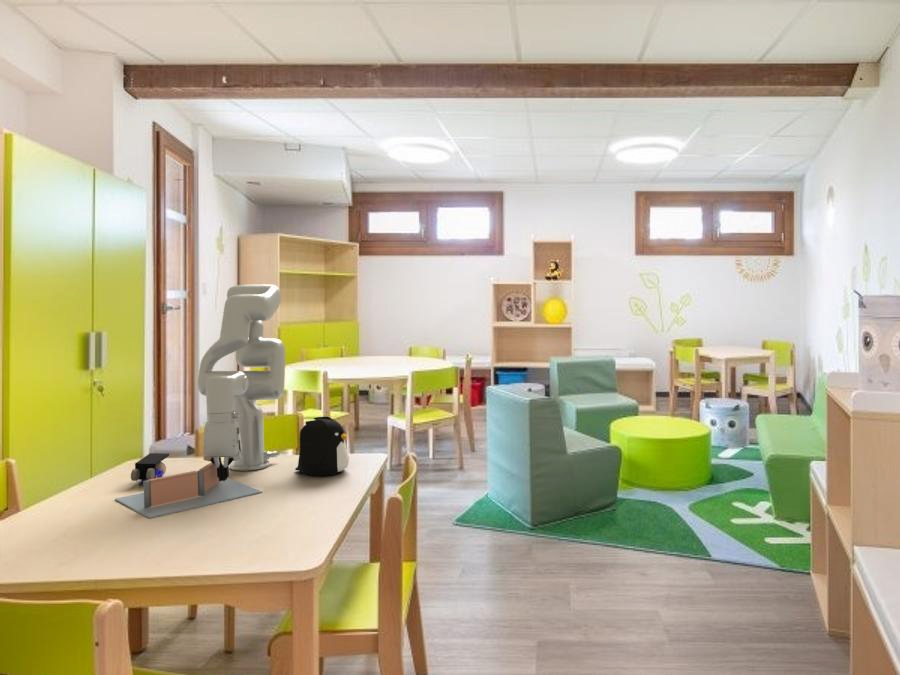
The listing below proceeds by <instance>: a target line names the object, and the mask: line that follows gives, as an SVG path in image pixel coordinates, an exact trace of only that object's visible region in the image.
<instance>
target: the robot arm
mask: <svg viewBox="0 0 900 675" xmlns="http://www.w3.org/2000/svg"><path fill="white" fill-rule="evenodd" d="M281 302H282V295H281V290H280V289H279V287H278V286H277V285H275V284H239V285H238V284H237V285H233V286H230V287H229V288H228V289H227V292H226V299H225V302H224V306H223V312H222V313H223V315H222V320H221V329H220V333H219V334H220V335H219V336H220V337H219V338H218V339H217V341H215V342H214V343H213V344H212V345H211V346H210V347H209V348H208V350H207V351H206V352H205V354H204V355H203V356H202V359H201V360H200V363H199V370H198V378H197V389H198V391H199V393H200V394H201V395H202V396H204V397H206V422H205V423H204V428H203V439H202V453H203V457H202V458H203V460H204V461H205V462H210V463H211V462H212V463H213V464H214V465H215V467H216V468H217V477H218V478H219V481H225V480H226V479H227V478H228V479H229V477H230V470H232V471H240V472H241V471H242V472H245V471H257V470H258V471H259V470H262V469H265V468H267V467H269V465H270V461H269V459H271V458H277V457H278V454H279V453H278V451H277V450H274V451H269V450H265V442H264V441H265V440H264V439H265V437H264V435H265V434H264V414H263V413H264V412H263V409H262V408H261V406H260V405H259V404H258V403H257V401H268V400H269V401H270V400H271V401H272V400H278V399H280V398H282V396H283V394H284V391H285V378H286V376H285V375H286V374H285V373H286V372H285V371H286V348H285V344H284V342H283V341H282V340H280V339H278V338H264V323H263V322H265V321H269V320H271V319H272V317H273V316H274V314H275V313H276V312H277V311H278V309H279V307H280V305H281ZM233 353H235V360H236V364H237V365H238V366H239V367H242V368H268V369H269V370H213V369H214V367H215V365H216V364H217V363H218V361H220V360H221V359H222V358H224V357H226V356H228V355H230V354H233ZM222 458H223V461H222Z"/></svg>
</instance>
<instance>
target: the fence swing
mask: <svg viewBox="0 0 900 675" xmlns="http://www.w3.org/2000/svg"><path fill="white" fill-rule="evenodd" d="M199 470H203V477H204V493H205V492H206V491H208V490H209V489H211V488H212V487H214V486H215V485H217V484H218V483H220V482H221V481H219V478H218V477H217V468H216V467H215V465H214V464H213V463H212V462H211V461H210V463H208V464H206V465H204V466H203V467H201V468H199Z"/></svg>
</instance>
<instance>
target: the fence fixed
mask: <svg viewBox="0 0 900 675" xmlns="http://www.w3.org/2000/svg"><path fill="white" fill-rule="evenodd" d="M142 486H143V488H142V489H143V493H144V508H148V507H151V506H156V505H161V504H165V503H170V502H174V501H179V500H184V499H188V498H193V497H197V496H204V477H203V470H192V471H187V472H182V473H177V474H172V475H171V474H170V475H166V476H161V477H158V478H155V479H149V480H146V481H143V484H142Z"/></svg>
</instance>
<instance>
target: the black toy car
mask: <svg viewBox="0 0 900 675" xmlns="http://www.w3.org/2000/svg"><path fill="white" fill-rule="evenodd" d="M169 456H170V453H159V452H158V453H155V452H150V453H148V454H147V455H145V456H144V457H142V458H141V459H140V460H138V461H137V462H135V463H134V469H132V470H131V473H130V480H131V481H133V482H137V481H138V480H140V483H138V484H137V485H138V486H139V487H142V486H143V481H146V480H149V479H155V478H160V477H164V475H165V473H166V472H167V467H166V465H165V463H163V460H165V459H167V458H168V457H169Z"/></svg>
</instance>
